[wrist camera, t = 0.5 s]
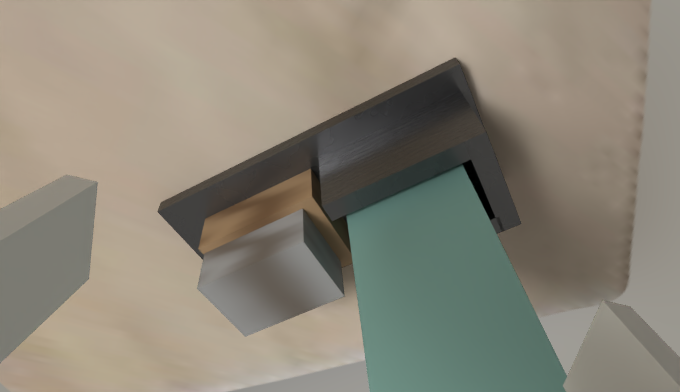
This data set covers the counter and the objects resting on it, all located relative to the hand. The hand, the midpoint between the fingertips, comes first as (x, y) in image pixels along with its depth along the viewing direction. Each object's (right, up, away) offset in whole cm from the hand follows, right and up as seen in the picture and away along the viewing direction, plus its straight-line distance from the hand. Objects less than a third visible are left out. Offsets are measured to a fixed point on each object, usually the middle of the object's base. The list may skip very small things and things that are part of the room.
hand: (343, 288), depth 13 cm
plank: (+4, +4, +20) cm, 21 cm away
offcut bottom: (-4, 0, +22) cm, 22 cm away
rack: (0, +3, +22) cm, 22 cm away
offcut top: (-4, -2, +19) cm, 20 cm away
